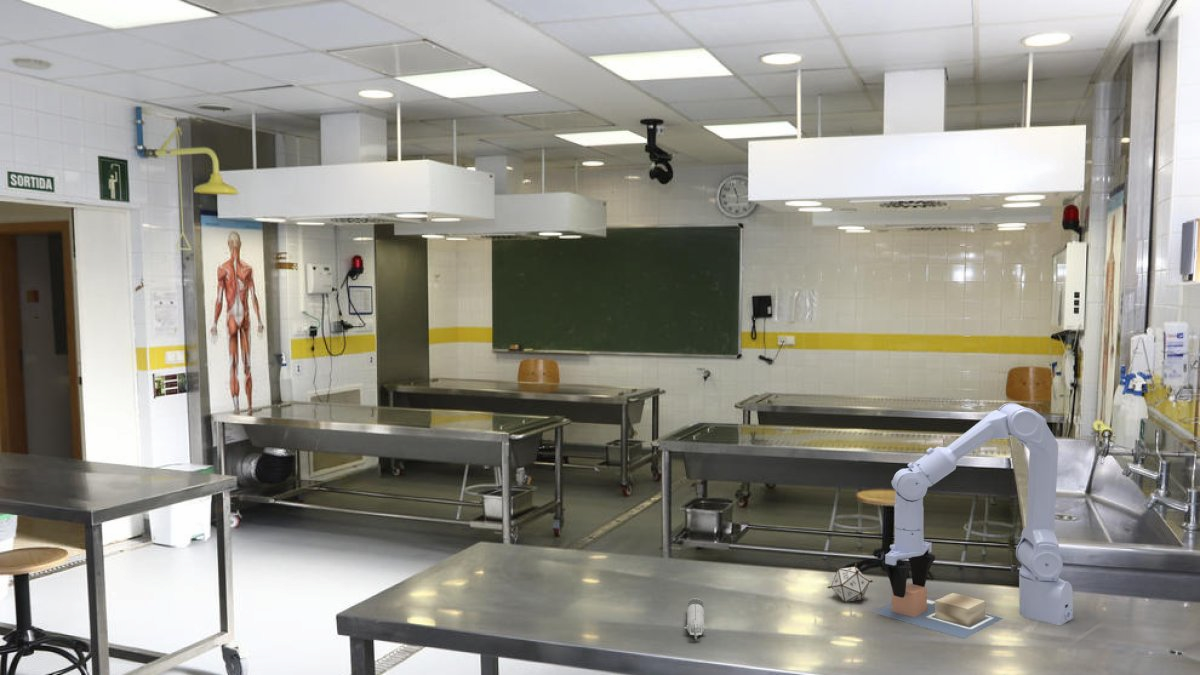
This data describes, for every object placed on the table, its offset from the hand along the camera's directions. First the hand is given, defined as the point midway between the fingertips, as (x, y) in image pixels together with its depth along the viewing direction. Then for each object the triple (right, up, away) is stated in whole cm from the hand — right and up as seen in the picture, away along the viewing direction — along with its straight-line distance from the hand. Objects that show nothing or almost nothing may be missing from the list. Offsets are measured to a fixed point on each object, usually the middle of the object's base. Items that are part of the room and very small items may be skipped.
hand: (908, 592), depth 188 cm
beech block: (+9, -4, -4) cm, 11 cm away
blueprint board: (+5, -5, -2) cm, 7 cm away
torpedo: (-45, -6, -4) cm, 45 cm away
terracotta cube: (0, -4, 0) cm, 4 cm away
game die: (-10, -5, +9) cm, 14 cm away
